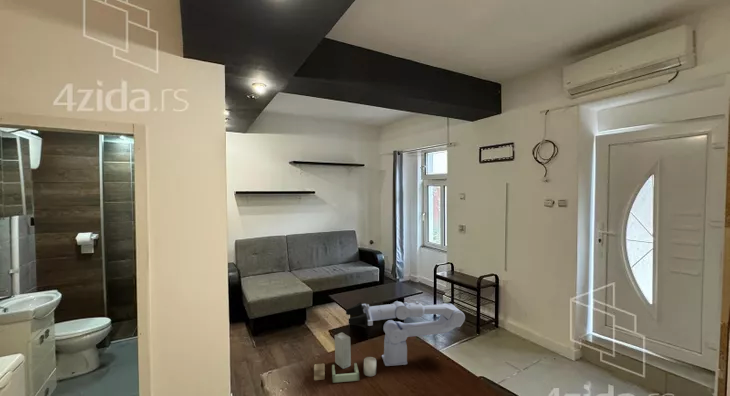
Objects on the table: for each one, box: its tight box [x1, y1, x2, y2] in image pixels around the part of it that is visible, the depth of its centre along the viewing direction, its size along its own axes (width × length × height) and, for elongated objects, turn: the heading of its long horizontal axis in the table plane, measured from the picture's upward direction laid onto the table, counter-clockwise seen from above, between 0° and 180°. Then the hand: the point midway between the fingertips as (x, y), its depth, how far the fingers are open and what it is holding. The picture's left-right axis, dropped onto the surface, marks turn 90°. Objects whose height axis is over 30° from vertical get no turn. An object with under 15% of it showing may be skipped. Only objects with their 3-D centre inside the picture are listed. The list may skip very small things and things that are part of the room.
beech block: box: [313, 363, 326, 381], centre depth 117 cm, size 4×4×4 cm
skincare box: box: [334, 332, 352, 370], centre depth 126 cm, size 6×4×12 cm
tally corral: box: [331, 362, 360, 384], centre depth 118 cm, size 10×8×2 cm
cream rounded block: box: [363, 356, 377, 377], centre depth 120 cm, size 5×5×5 cm
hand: (347, 316), depth 125 cm, fingers open, 7 cm apart
